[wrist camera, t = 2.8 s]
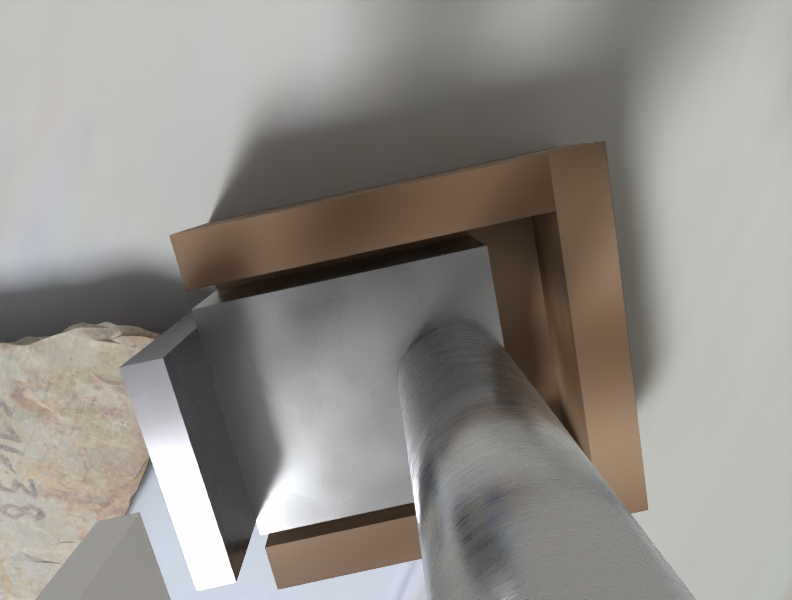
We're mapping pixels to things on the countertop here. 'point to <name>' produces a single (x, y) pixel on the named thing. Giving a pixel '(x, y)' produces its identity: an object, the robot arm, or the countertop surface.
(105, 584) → the robot arm
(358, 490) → the ram
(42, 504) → the stone
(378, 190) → the frame
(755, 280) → the countertop surface
